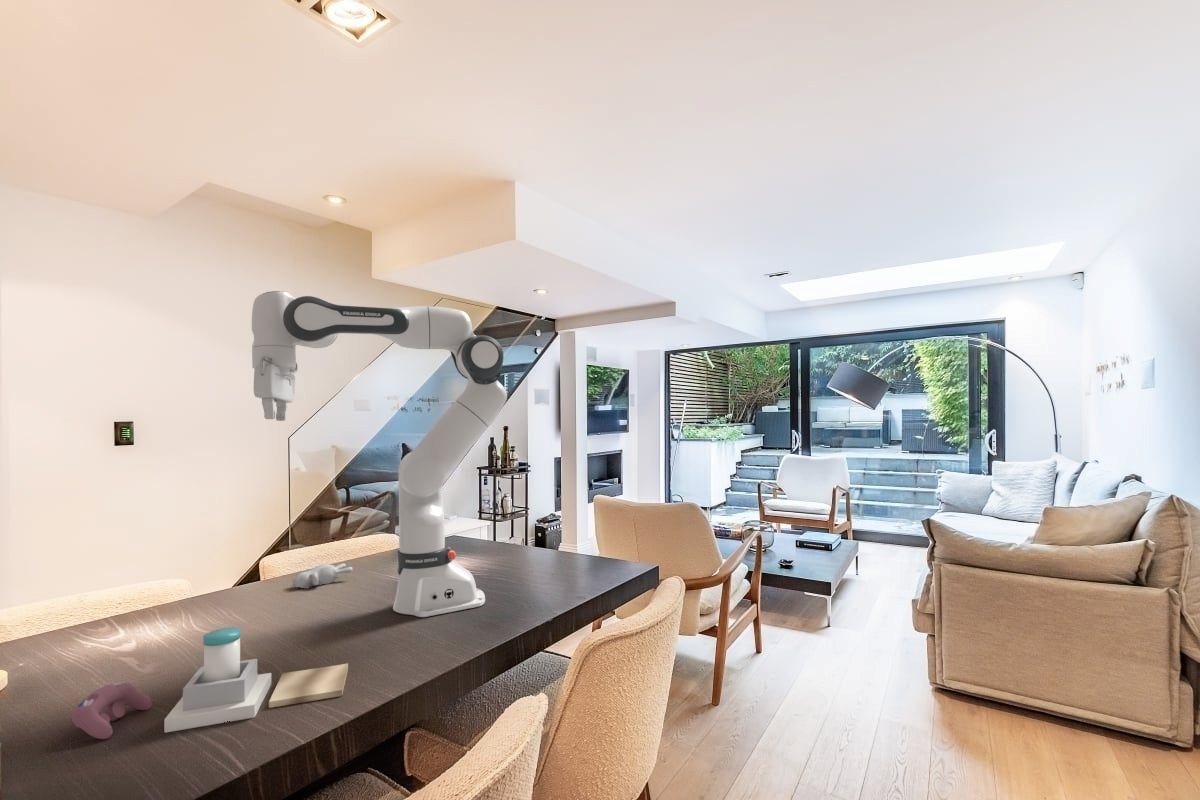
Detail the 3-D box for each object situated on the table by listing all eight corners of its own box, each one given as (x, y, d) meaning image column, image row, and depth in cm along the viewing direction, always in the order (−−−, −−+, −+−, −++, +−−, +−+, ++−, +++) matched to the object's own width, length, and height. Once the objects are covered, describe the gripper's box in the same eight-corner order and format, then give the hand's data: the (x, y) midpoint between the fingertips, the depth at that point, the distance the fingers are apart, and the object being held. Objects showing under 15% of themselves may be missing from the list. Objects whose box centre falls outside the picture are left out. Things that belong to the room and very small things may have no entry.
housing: (271, 683, 101) (271, 653, 101) (254, 717, 90) (254, 682, 90) (192, 696, 97) (192, 663, 97) (164, 732, 86) (164, 696, 86)
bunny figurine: (288, 572, 161) (342, 556, 172) (290, 589, 162) (344, 572, 172) (298, 578, 154) (353, 561, 165) (300, 596, 155) (355, 578, 165)
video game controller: (130, 718, 93) (110, 681, 93) (156, 704, 94) (136, 667, 93) (81, 753, 83) (58, 712, 83) (110, 737, 84) (88, 696, 84)
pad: (348, 668, 106) (348, 663, 106) (342, 695, 96) (342, 689, 96) (282, 678, 103) (282, 673, 103) (268, 707, 92) (268, 701, 92)
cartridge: (244, 684, 97) (244, 625, 97) (235, 698, 92) (235, 636, 92) (209, 689, 95) (209, 630, 95) (198, 704, 90) (198, 641, 90)
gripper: (277, 354, 122) (278, 417, 122) (299, 366, 142) (300, 421, 141) (244, 354, 121) (245, 418, 120) (271, 366, 140) (272, 422, 139)
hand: (275, 420), depth 131 cm, fingers open, 8 cm apart
